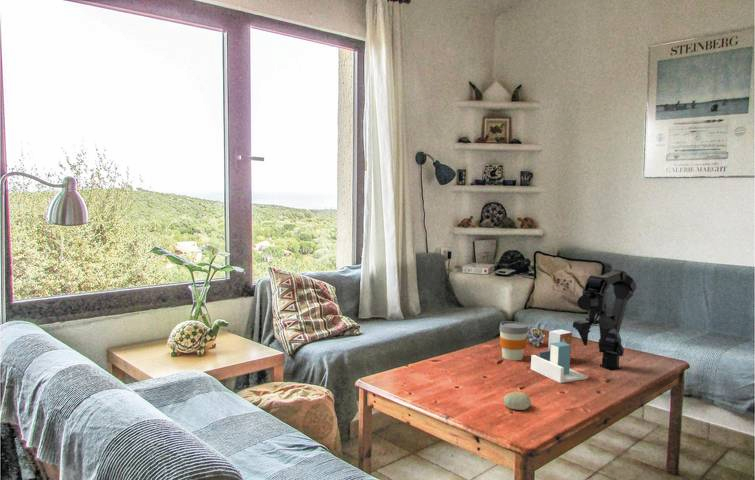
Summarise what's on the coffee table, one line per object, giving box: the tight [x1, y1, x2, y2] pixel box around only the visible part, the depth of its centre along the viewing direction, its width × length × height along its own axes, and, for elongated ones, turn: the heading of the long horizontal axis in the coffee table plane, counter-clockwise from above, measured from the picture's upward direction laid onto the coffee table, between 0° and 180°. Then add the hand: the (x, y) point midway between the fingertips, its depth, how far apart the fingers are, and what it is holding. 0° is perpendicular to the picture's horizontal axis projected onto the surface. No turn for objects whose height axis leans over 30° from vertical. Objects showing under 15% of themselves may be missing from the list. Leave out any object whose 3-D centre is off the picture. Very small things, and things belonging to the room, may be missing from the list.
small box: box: [547, 328, 573, 358], centre depth 253 cm, size 8×6×13 cm
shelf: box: [530, 350, 589, 384], centre depth 235 cm, size 14×18×8 cm
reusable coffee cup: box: [499, 321, 529, 361], centre depth 257 cm, size 13×13×15 cm
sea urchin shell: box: [503, 391, 532, 411], centre depth 200 cm, size 9×8×8 cm
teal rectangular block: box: [550, 342, 572, 375], centre depth 233 cm, size 6×5×12 cm
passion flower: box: [526, 323, 546, 348], centre depth 279 cm, size 11×11×12 cm
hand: (594, 344), depth 233 cm, fingers open, 9 cm apart
